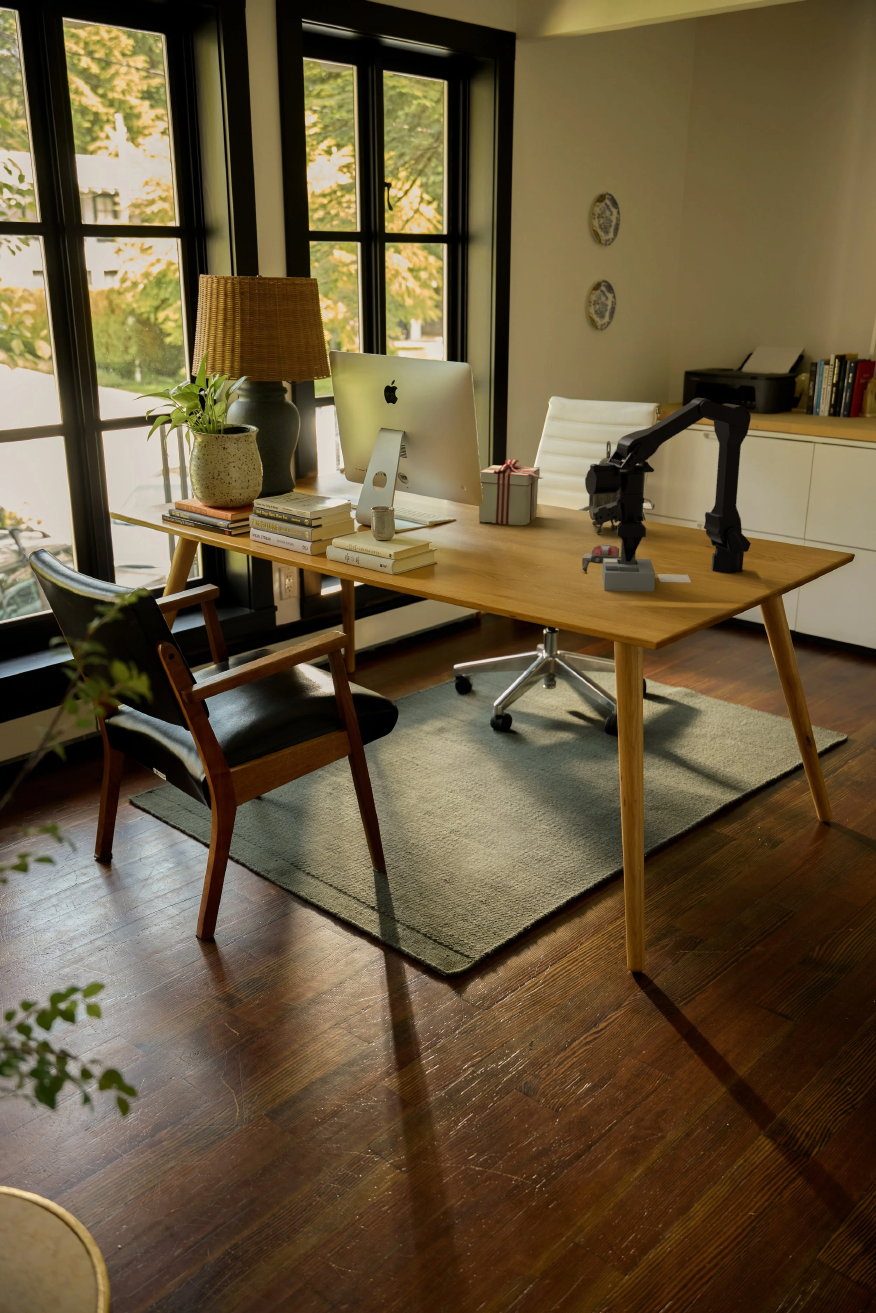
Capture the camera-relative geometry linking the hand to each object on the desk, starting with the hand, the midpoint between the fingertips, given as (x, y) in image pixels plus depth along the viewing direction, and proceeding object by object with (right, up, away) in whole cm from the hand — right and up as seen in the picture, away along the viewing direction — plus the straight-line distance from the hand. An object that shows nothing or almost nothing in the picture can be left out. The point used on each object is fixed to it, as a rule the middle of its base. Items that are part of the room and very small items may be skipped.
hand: (627, 559), depth 250 cm
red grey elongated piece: (-3, 0, +20) cm, 20 cm away
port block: (0, -6, -2) cm, 7 cm away
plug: (0, -2, +1) cm, 2 cm away
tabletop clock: (+4, +13, +57) cm, 59 cm away
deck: (+11, -5, +2) cm, 12 cm away
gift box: (-22, +18, +72) cm, 78 cm away
